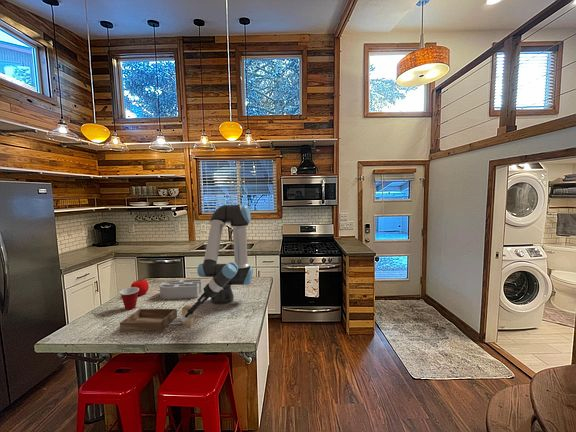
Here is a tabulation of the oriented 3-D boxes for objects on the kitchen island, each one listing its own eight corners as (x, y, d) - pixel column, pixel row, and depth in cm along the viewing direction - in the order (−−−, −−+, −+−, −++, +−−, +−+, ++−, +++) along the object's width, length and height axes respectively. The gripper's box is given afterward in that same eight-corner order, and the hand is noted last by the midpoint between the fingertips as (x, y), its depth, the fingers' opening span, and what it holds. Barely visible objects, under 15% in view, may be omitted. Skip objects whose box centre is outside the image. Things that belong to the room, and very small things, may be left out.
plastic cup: (119, 313, 165) (117, 294, 164) (121, 306, 175) (120, 288, 174) (139, 310, 170) (138, 291, 169) (140, 304, 180) (139, 286, 179)
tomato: (150, 295, 196) (149, 280, 195) (131, 298, 190) (130, 283, 189) (147, 290, 206) (146, 276, 205) (130, 293, 200) (129, 278, 199)
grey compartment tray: (197, 298, 189) (197, 286, 188) (156, 300, 187) (155, 287, 186) (203, 290, 206) (202, 279, 205) (165, 291, 203) (164, 280, 203)
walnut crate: (140, 316, 160) (140, 308, 159) (177, 317, 159) (176, 308, 158) (120, 332, 142) (119, 322, 141) (161, 332, 141) (160, 323, 140)
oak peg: (186, 322, 152) (185, 304, 151) (195, 322, 151) (194, 305, 151) (182, 326, 147) (181, 308, 146) (191, 326, 146) (191, 308, 146)
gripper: (211, 301, 134) (182, 330, 135) (224, 285, 159) (200, 310, 160) (200, 290, 134) (171, 320, 135) (215, 276, 159) (191, 301, 160)
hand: (187, 315), depth 148 cm, fingers open, 13 cm apart
